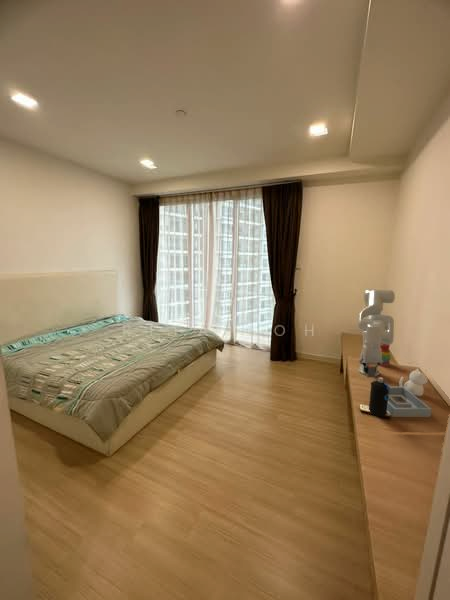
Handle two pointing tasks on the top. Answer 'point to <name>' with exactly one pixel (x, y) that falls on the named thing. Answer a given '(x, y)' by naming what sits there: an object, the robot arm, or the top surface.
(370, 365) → the block
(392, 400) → the inlet
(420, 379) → the cat figurine
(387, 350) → the stacking bear
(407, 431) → the top surface
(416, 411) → the walled box
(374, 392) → the aerosol can
